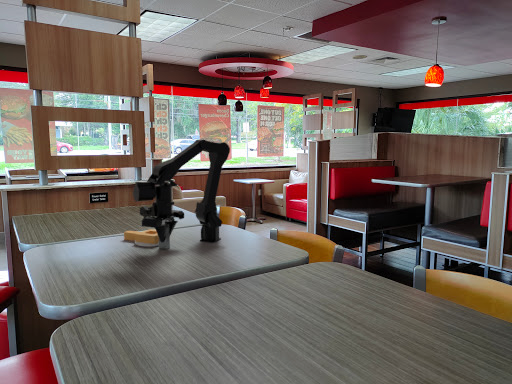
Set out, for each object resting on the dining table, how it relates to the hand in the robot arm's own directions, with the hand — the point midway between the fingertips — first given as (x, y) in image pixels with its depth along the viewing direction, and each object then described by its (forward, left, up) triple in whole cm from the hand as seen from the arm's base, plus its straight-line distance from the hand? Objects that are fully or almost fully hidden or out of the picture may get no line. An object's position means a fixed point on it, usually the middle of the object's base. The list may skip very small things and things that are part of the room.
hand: (164, 241), depth 137 cm
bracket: (+12, -5, -2) cm, 13 cm away
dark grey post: (0, 0, -2) cm, 2 cm away
